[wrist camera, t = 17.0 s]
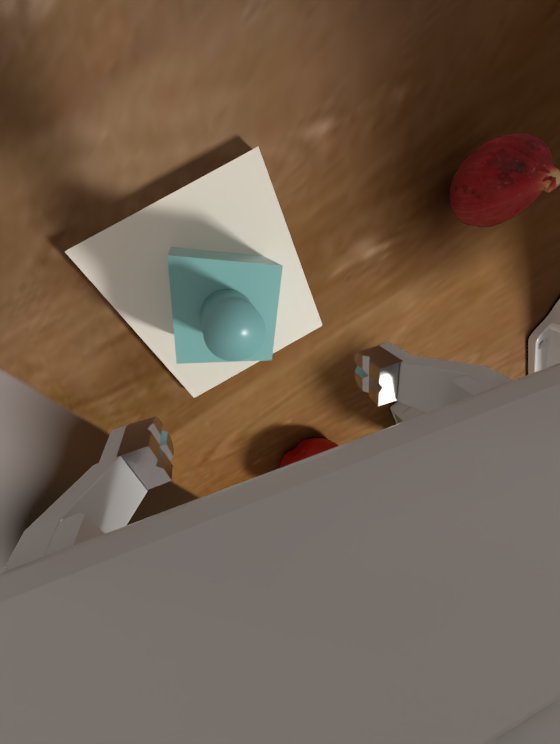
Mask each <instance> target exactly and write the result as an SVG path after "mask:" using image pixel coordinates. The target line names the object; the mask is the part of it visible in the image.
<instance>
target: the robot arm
mask: <svg viewBox="0 0 560 744" xmlns="http://www.w3.org/2000/svg"><path fill="white" fill-rule="evenodd" d="M354 363H355V364H356V365H357V367H356V369H355V371H354V374H355V380H356V383H357V385H358V386H359V388H360V389H361V390H362V391H364V392H368V393H369V398H370V399H371V400H372V401H373V402H374V403H375V404H376V405H378V406H381V405H384V404H387V403H390V402H393V401H396V400H397V401H398V402H401V403H403V404H406V405H408V406H411V407H414V408H416V409H419V410H421V411H424V412H426V413H425V414H423V415H420V416H417V417H415V418H412V419H409V420H407V421H404V422H401V423H399V424H396V425H393V426H391V427H388V428H385V429H383V430H380V431H377V432H375V433H372V434H369V435H367V436H364V437H361V438H359V439H356V440H353V441H351V442H348V443H345V444H342V445H340V446H337V447H334V448H332V449H329V450H326V451H324V452H321V453H319V454H316V455H313V456H311V457H308V458H305V459H303V460H300V461H297V462H295V463H292V464H289V465H287V466H284V467H281V468H279V469H276V470H273V471H271V472H268V473H265V474H263V475H260V476H258V477H255V478H252V479H250V480H247V481H244V482H242V483H239V484H236V485H234V486H231V487H228V488H226V489H223V490H220V491H218V492H215V493H212V494H210V495H207V496H204V497H202V498H199V499H196V500H194V501H191V502H188V503H186V504H183V505H180V506H178V507H175V508H172V509H170V510H167V511H164V512H162V513H159V514H156V515H154V516H151V517H148V518H146V519H143V520H140V521H138V522H135V523H132V524H130V525H127V523H128V522H129V520H130V519H131V517H132V515H133V514H134V512H135V510H136V509H137V507H138V505H139V504H140V502H141V500H142V499H143V498H144V496H145V494H146V492H147V490H148V489H151V488H153V487H156V486H158V485H161V484H164V483H166V482H169V481H171V479H172V467H173V465H172V464H171V462H170V460H171V459H172V457H173V454H174V449H173V443H172V440H171V438H170V436H169V434H168V433H167V432H165V431H163V430H162V426H163V424H162V422H161V421H160V419H159V418H158V417H156V416H155V417H152V418H149V419H145V420H142V421H139V422H135V423H132V424H129V425H125V426H122V427H119V428H116V429H114V430H112V431H111V433H110V436H109V438H108V441H107V444H106V446H105V449H104V451H103V454H102V456H101V459H100V461H99V463H98V464H95V465H93V466H92V467H91V468H90V469H89V470H88V471H87V472H86V473H85V474H84V475H83V476H82V477H81V478H80V479H79V480H78V481H77V482H76V483H75V484H73V485H72V487H70V488H69V489H68V490H67V491H66V492H65V493H64V494H63V495H62V496H61V497H60V498H59V499H58V500H57V501H56V502H55V503H54V504H52V505H51V506H50V507H49V508H48V510H46V511H45V512H44V513H43V514H42V515H41V516H40V517H39V518H38V519H37V520H36V521H35V522H34V523H33V524H32V525H31V526H29V527H28V528H27V529H26V530H25V531H24V533H23V535H22V537H21V538H20V541H19V542H18V544H17V546H16V548H15V550H14V551H13V553H12V555H11V557H10V559H9V561H8V562H7V564H6V566H5V568H4V570H3V572H2V573H0V744H560V299H559V300H558V301H557V303H556V304H555V306H554V307H553V309H552V310H551V312H550V313H549V315H548V316H547V317H546V318H545V320H544V321H543V322H542V323H541V324H540V325H539V326H538V327H537V328H536V329H535V330H534V331H533V333H532V334H531V335H530V337H529V339H528V375H526V376H524V377H521V378H518V379H516V380H513V379H510V378H508V377H506V376H504V375H502V374H500V373H498V372H496V371H494V370H492V369H490V368H488V367H485V366H479V365H472V364H466V363H459V362H453V361H446V360H440V359H433V358H427V357H420V356H418V357H414V356H412V355H411V354H409V353H407V352H406V351H404V350H402V349H401V348H399V347H397V346H396V345H394V344H392V343H390V342H386V343H383V344H381V345H378V346H376V347H373V348H370V349H367V350H364V351H361V352H358V353H355V356H354ZM126 525H127V526H126Z"/></svg>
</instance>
